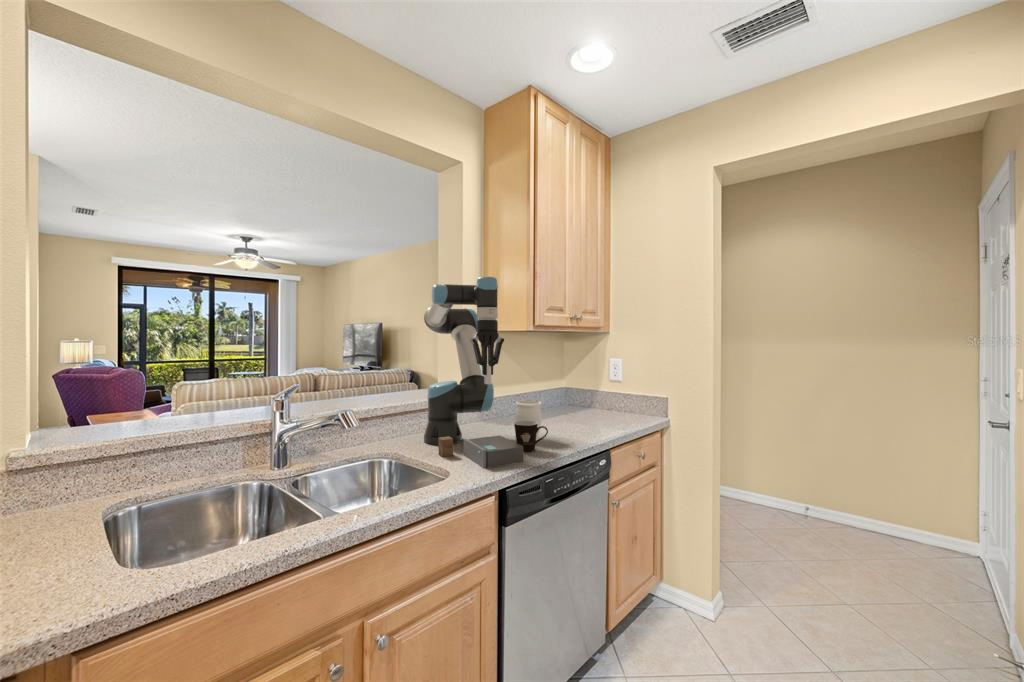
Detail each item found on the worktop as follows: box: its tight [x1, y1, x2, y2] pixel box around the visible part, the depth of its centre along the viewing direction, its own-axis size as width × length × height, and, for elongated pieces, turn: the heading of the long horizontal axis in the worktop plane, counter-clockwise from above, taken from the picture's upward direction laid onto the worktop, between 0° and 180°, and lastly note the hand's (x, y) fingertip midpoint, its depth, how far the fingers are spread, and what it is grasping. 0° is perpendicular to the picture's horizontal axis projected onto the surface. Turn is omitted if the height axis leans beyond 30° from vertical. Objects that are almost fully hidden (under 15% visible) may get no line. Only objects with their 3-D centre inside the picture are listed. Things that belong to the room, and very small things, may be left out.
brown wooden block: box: [438, 436, 454, 458], centre depth 158 cm, size 4×4×6 cm
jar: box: [515, 400, 542, 441], centre depth 181 cm, size 11×10×15 cm
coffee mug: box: [513, 421, 549, 453], centre depth 164 cm, size 12×9×10 cm
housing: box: [467, 434, 524, 468], centre depth 154 cm, size 18×13×5 cm
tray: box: [463, 438, 487, 469], centre depth 154 cm, size 17×13×6 cm
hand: (487, 383), depth 164 cm, fingers closed
